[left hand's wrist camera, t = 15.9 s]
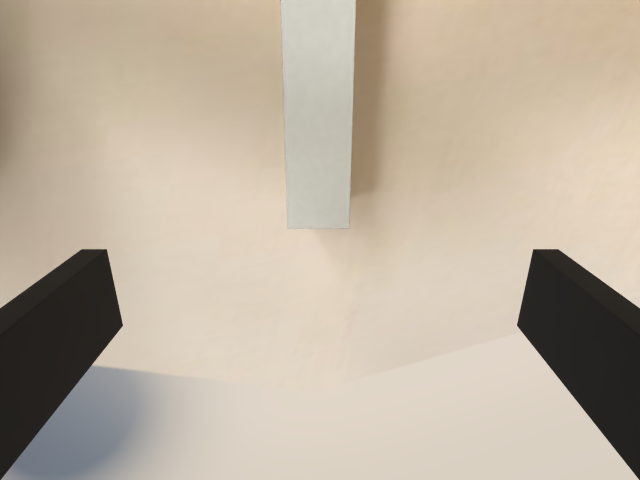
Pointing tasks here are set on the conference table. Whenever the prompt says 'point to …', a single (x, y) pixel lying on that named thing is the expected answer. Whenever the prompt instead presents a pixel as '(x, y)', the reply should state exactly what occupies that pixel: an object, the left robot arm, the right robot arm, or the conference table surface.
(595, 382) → the left robot arm
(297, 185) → the bar
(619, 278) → the conference table surface
